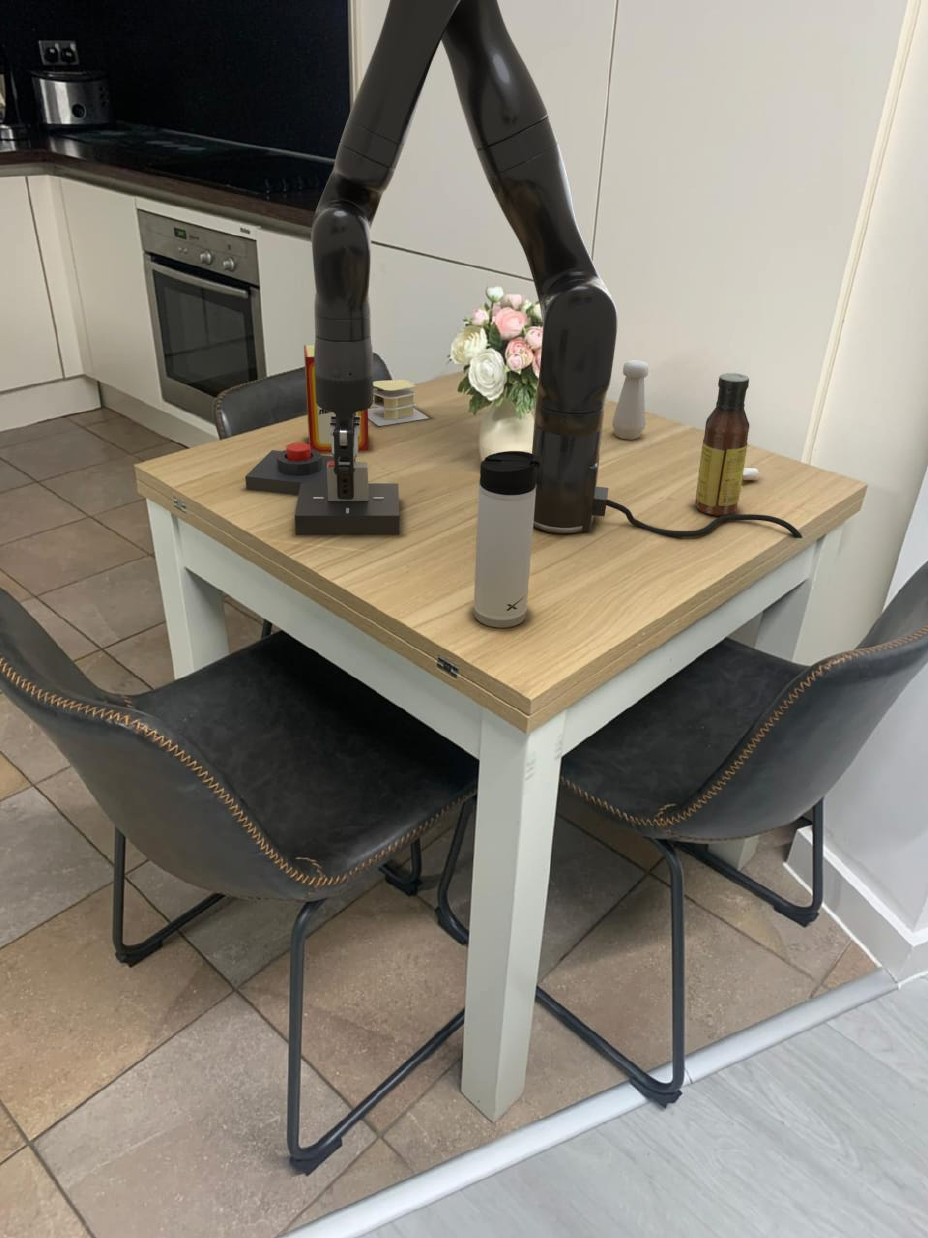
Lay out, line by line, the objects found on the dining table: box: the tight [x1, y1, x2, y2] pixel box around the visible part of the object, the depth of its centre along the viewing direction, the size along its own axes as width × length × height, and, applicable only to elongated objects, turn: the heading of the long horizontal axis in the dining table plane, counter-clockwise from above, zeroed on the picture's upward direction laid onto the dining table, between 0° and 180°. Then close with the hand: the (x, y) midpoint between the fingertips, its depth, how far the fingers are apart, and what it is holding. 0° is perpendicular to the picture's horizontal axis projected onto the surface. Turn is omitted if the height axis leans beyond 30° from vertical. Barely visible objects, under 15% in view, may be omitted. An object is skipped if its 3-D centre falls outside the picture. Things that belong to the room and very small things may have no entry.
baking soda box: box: [303, 344, 370, 453], centre depth 154 cm, size 10×6×16 cm
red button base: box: [244, 449, 340, 496], centre depth 143 cm, size 13×11×4 cm
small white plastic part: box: [742, 466, 760, 481], centre depth 149 cm, size 4×6×3 cm, turn 89°
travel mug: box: [473, 450, 541, 629], centre depth 107 cm, size 6×7×20 cm
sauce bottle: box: [695, 372, 750, 517], centre depth 136 cm, size 6×6×20 cm
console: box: [294, 482, 400, 536], centre depth 133 cm, size 14×11×3 cm
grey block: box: [327, 461, 369, 501], centre depth 131 cm, size 6×2×5 cm, turn 94°
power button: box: [285, 442, 311, 461], centre depth 142 cm, size 4×4×2 cm
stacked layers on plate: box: [368, 379, 429, 427], centre depth 170 cm, size 10×9×6 cm
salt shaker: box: [611, 359, 650, 441], centre depth 163 cm, size 6×6×13 cm
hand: (346, 485), depth 131 cm, fingers open, 8 cm apart
